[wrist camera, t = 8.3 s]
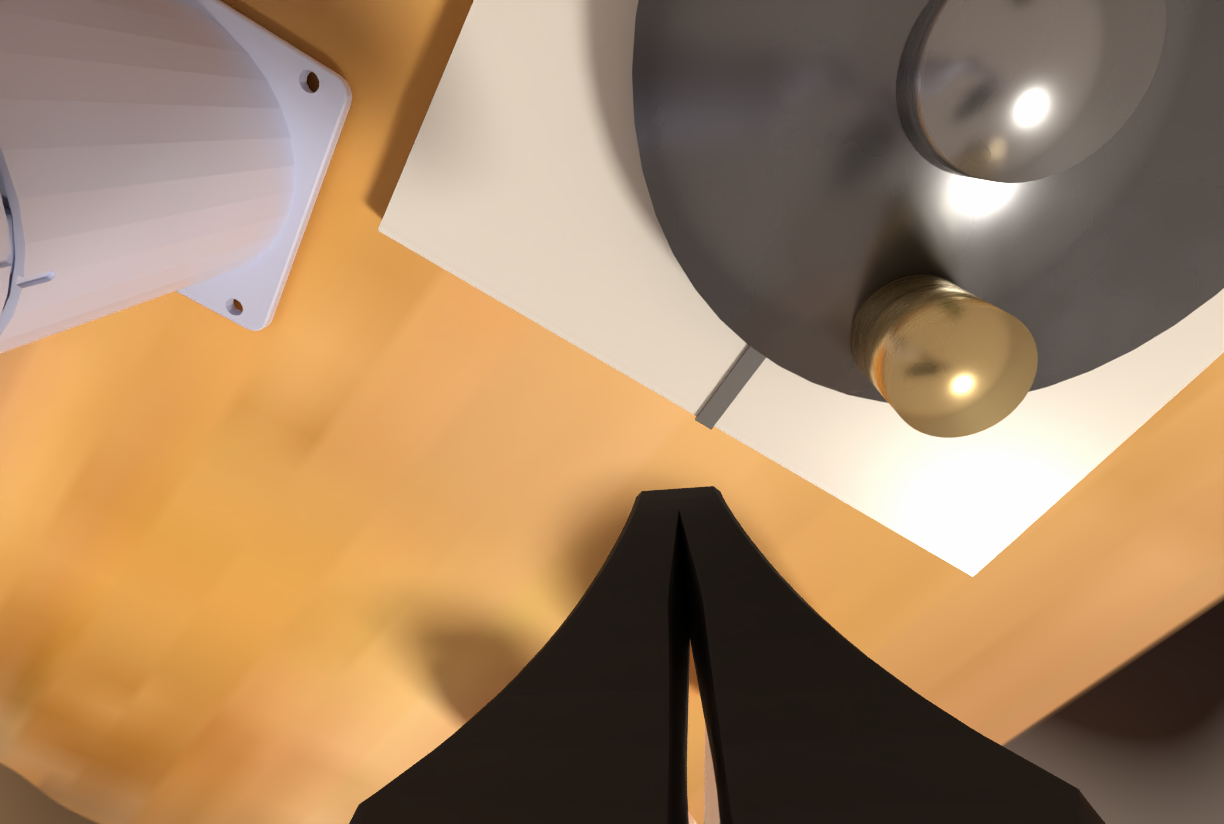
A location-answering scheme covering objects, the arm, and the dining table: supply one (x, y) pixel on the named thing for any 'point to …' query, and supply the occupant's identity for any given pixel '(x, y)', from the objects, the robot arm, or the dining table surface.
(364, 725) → the dining table surface
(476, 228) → the wheel base
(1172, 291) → the handwheel
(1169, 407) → the dining table surface
